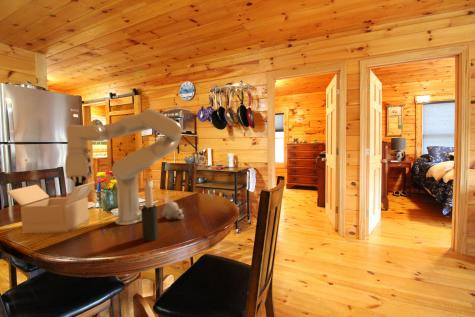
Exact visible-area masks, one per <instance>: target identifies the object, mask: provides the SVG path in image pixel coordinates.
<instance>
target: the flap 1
mask: <svg viewBox="0 0 475 317" xmlns="http://www.w3.org/2000/svg"><path fill="white" fill-rule="evenodd" d="M6 193H7V194H8V195H9V196H10V197H11V198H12V199H13V200H14V201H16V203H17V204H18V205H20V207H22V206H26V205H29V204H32V203H35V202H38V201H42V200H45V199H48V198H50V196H49V194H47V193H46V192H45V190H43V189H42V188H41V187H40V186H39V185H38V184H34V185H30V186H25V187H20V188H16V189H11V190H7V191H6Z"/></svg>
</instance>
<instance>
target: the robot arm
mask: <svg viewBox="0 0 475 317" xmlns="http://www.w3.org/2000/svg"><path fill="white" fill-rule="evenodd" d="M147 130H153V131H155V132H157V133H159V134H161V135H163V137H162V138H160V139H159V140H157V141H155V142H153V143H152V144H149V145H148V146H145V147H141V148H139V149H136V150H135V151H133V152H131V153H130V154H128V155H125V156H124V157H122V158H119V159H117V161H115V162H114V163H113V164H112V167H111V173H112V175H113V177H114V178H116V195H117V214H118V217H117V218H116V219H115V221H114V223H115V225H121V226H124V225H125V226H126V225H133V224H136V223H137V224H138V223H139V222H142V211H141V209H140V199H139V196H140V195H139V173H141V172H144V171H146V170H147V169H149V168H150V167H152V166H153V165H154V164H156V162H157V161H159V160H161V159H163V158H165V157H166V156H168V155H169V154H171V153H172V152H174V151H175V150H176V149H177V148H178V146H179V144H180V142H181V138H182V132H183V128H182V126H181V124H180V123H179V122H177V121H176V120H174V119H172V118H170V117H168V116H166V115H164V114H162V113H161V112H159V111H157V110H155V109H152V108H148V109H145V110H143V112H139V113H136V114H132V115H128V116H123V117H121V118H120V119H119V120H117V121H114V122H111V123H108V124H103V125H97V124H86V125H84V124H83V125H80V124H70V125H68V126H67V128H66V133H67V134H66V136H67V155H66V158H65V166H64V167H65V175H66V179H69V180H72V181H73V183H74V187H78V186H81V185H85V181H86V180H88V179H91V178H92V174H93V163H92V157H91V155H90V154H89V153H91V149H89V148H88V141H92V142H104V141H107V140H111V139H116V138H119V137H124V136H128V135H131V134H136V133H139V132H143V131H147Z"/></svg>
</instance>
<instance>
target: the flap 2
mask: <svg viewBox="0 0 475 317" xmlns="http://www.w3.org/2000/svg"><path fill="white" fill-rule="evenodd" d="M95 184H96V181H91V182H89V183H88V182H87V183H84V185H81V186H78V187H75V186H74V188H73V189H72V190H71V192H70V194H69V196H68V199H67V201H66V202H65V204H68V203H71V202H73V201H76V200H79V199H81V198H84V197H88V196H89V194H90V192H91V191H92V189H93V187H94V185H95Z"/></svg>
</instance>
